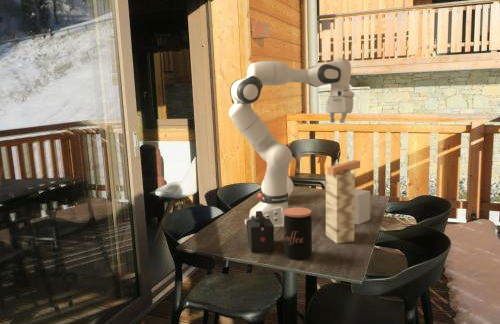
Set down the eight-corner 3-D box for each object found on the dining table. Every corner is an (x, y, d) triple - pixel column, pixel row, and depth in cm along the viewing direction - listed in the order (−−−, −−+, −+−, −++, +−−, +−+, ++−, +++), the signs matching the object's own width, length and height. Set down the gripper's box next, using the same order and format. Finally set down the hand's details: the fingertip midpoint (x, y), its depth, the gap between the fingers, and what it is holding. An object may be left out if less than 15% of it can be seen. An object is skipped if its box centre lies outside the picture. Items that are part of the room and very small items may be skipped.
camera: (271, 239, 197) (270, 206, 194) (277, 251, 184) (276, 215, 181) (246, 241, 196) (245, 207, 193) (250, 253, 182) (249, 217, 179)
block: (333, 175, 185) (333, 168, 184) (327, 174, 187) (327, 167, 187) (360, 167, 199) (360, 160, 198) (354, 166, 201) (354, 160, 200)
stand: (334, 243, 190) (334, 173, 184) (323, 235, 200) (323, 168, 195) (356, 240, 192) (357, 171, 187) (344, 232, 203) (345, 166, 197)
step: (358, 224, 213) (358, 195, 210) (340, 220, 220) (340, 192, 217) (369, 219, 220) (370, 191, 217) (351, 215, 227) (352, 188, 224)
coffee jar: (278, 255, 179) (278, 211, 176) (296, 248, 186) (295, 205, 183) (300, 262, 171) (299, 216, 168) (317, 254, 179) (317, 210, 176)
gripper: (323, 93, 226) (321, 121, 227) (344, 92, 207) (341, 122, 208) (334, 95, 228) (332, 122, 229) (356, 93, 209) (353, 123, 210)
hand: (337, 122), depth 218 cm, fingers open, 8 cm apart
